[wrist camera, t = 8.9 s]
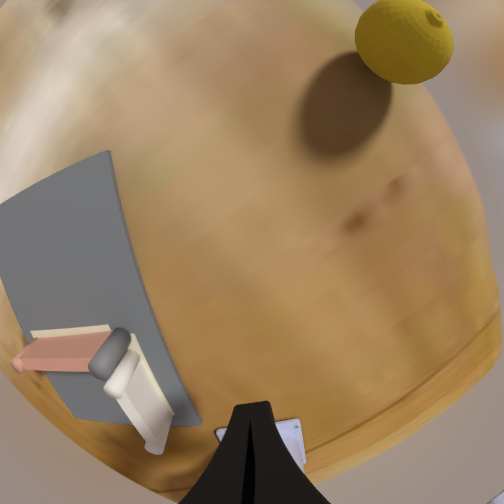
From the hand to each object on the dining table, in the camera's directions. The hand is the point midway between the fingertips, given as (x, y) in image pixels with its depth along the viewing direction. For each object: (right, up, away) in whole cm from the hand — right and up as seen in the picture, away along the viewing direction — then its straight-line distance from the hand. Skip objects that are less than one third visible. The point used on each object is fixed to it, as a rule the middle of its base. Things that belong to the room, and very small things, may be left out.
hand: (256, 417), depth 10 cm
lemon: (+8, +20, +5) cm, 22 cm away
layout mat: (-15, +1, +9) cm, 18 cm away
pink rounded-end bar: (-15, -1, +9) cm, 17 cm away
